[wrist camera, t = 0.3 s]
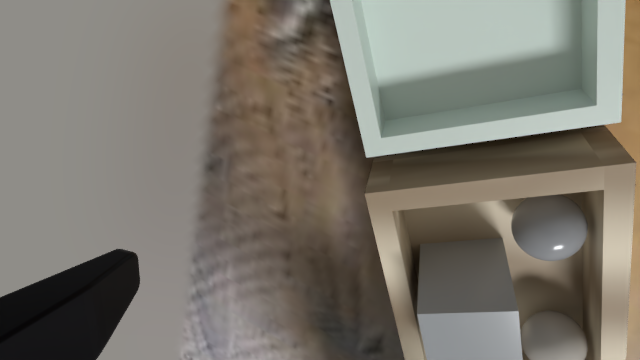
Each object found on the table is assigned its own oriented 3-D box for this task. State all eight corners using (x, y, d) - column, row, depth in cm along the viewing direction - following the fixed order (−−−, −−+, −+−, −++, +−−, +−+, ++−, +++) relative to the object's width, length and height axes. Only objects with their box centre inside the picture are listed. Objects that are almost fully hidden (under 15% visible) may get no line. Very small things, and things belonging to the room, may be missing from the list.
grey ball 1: (577, 231, 21) (597, 273, 19) (509, 237, 22) (519, 277, 20) (576, 176, 20) (597, 212, 17) (504, 184, 21) (513, 219, 18)
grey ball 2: (578, 339, 24) (595, 388, 22) (518, 339, 25) (527, 386, 23) (578, 296, 23) (596, 343, 20) (514, 299, 24) (524, 343, 21)
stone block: (508, 299, 24) (524, 379, 20) (431, 302, 25) (430, 378, 21) (502, 237, 22) (518, 311, 18) (420, 243, 24) (417, 314, 19)
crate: (600, 358, 25) (623, 416, 22) (418, 358, 28) (416, 409, 25) (604, 125, 19) (636, 162, 16) (373, 157, 22) (364, 193, 19)
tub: (600, 100, 19) (621, 122, 17) (372, 135, 22) (366, 157, 20) (603, -180, 15) (632, -198, 13) (323, -90, 18) (308, -92, 16)
